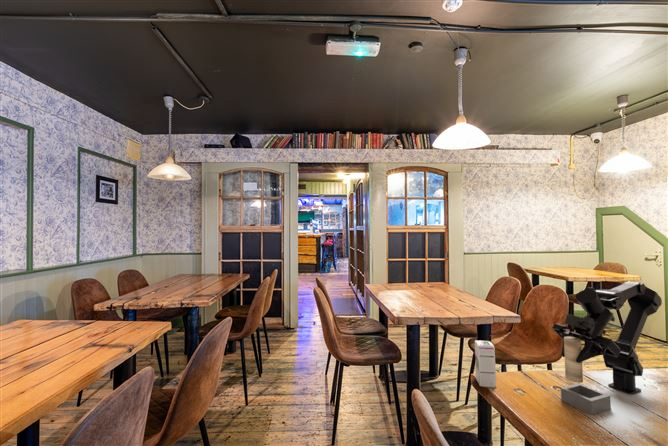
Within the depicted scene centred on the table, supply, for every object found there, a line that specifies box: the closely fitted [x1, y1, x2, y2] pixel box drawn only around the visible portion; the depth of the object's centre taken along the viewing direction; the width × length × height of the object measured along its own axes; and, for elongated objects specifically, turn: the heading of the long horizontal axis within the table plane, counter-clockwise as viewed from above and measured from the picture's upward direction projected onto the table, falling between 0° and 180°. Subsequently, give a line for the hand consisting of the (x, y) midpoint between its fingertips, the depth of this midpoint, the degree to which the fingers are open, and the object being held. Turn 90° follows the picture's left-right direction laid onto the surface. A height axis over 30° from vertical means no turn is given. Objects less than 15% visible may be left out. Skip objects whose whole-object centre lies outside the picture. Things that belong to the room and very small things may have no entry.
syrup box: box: [474, 339, 497, 388], centre depth 113 cm, size 6×6×14 cm
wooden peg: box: [564, 337, 584, 384], centre depth 101 cm, size 4×4×13 cm
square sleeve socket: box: [560, 383, 612, 416], centre depth 98 cm, size 9×9×4 cm
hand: (569, 359), depth 101 cm, fingers closed on wooden peg, 4 cm apart
